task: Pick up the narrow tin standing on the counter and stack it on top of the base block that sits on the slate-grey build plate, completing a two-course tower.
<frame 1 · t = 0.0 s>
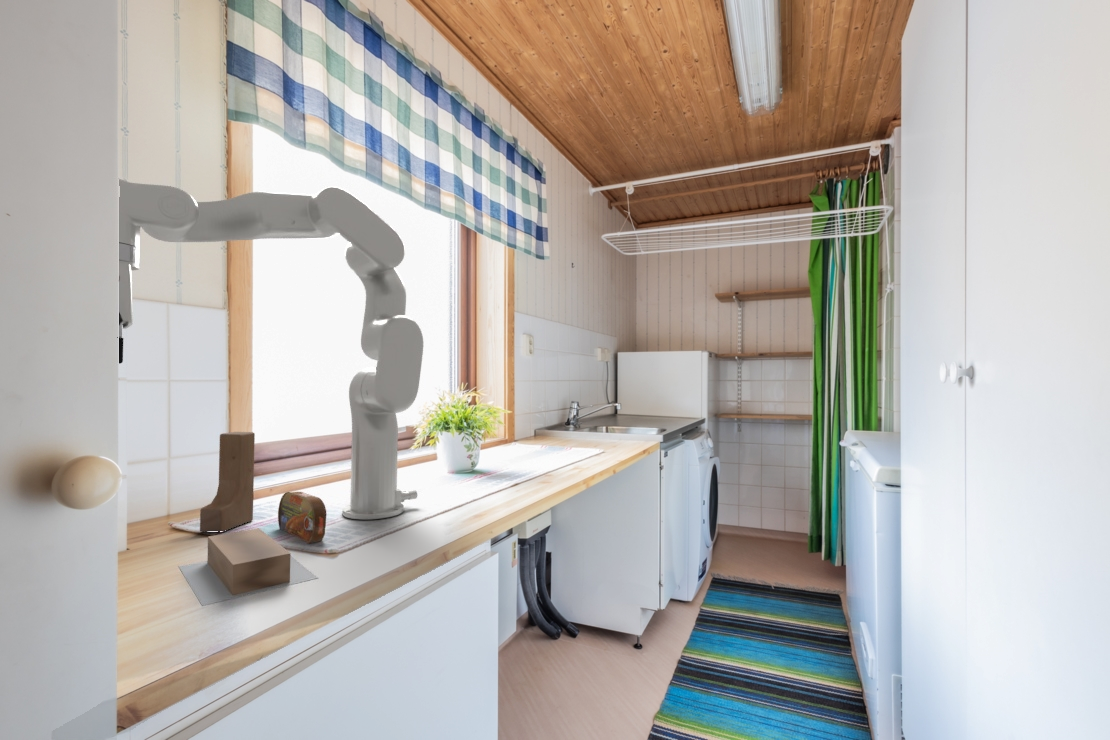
hand: (107, 363, 86), 31 cm above the table, tool pointing down, fingers open, 9 cm apart
tin: (301, 541, 96), on the table
wooden block: (227, 527, 104), on the table
build plate: (246, 578, 78), on the table
base block: (246, 572, 78), point 1 cm above the table, touching build plate
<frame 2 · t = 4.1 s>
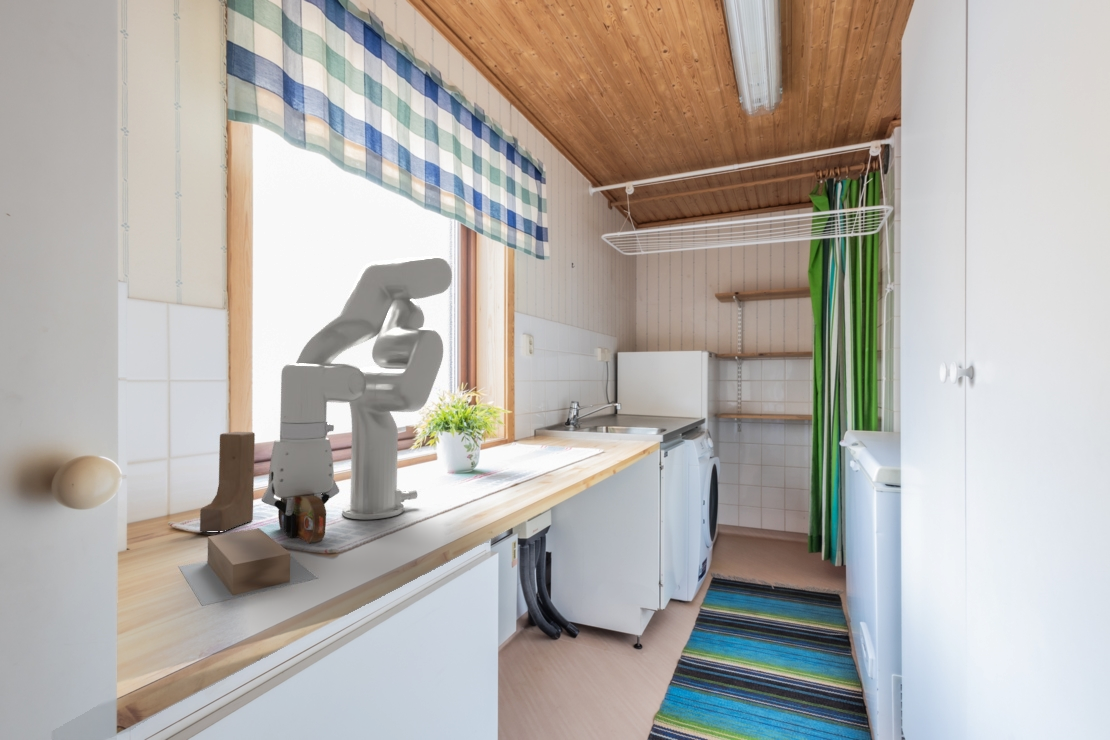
hand: (301, 533, 96), 1 cm above the table, tool pointing down, fingers closed on tin, 2 cm apart
tin: (302, 540, 96), on the table, touching gripper
everything else where it was.
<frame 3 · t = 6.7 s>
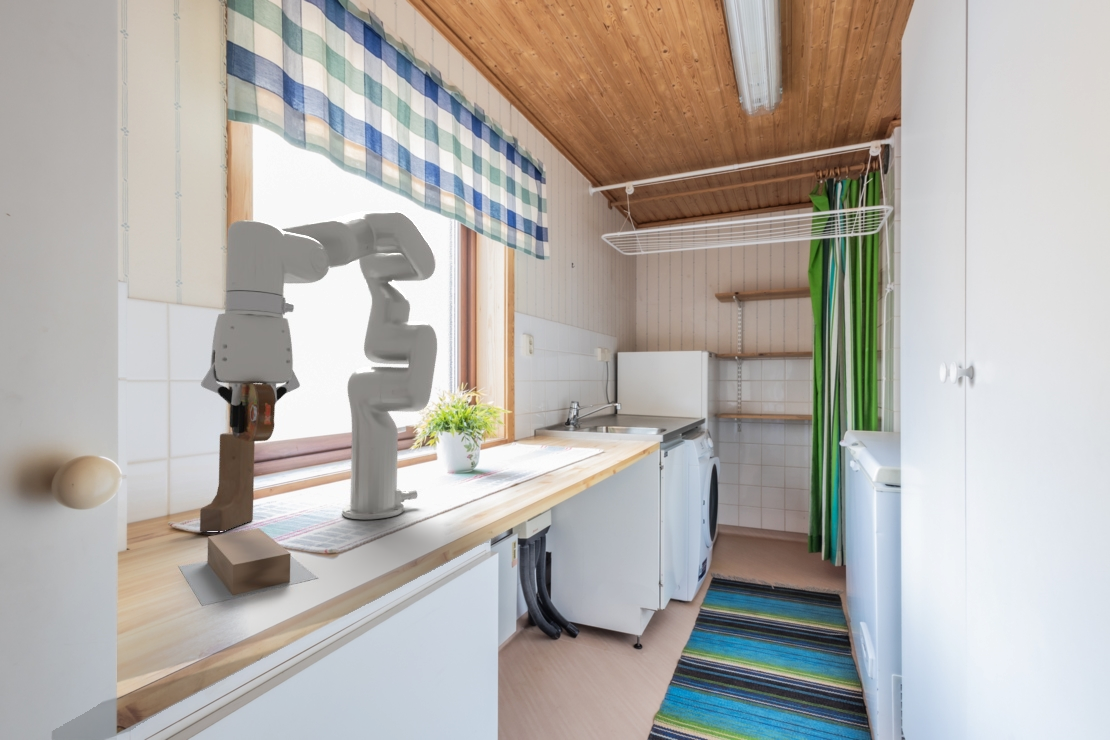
hand: (251, 430, 79), 22 cm above the table, tool pointing down, fingers closed on tin, 2 cm apart
tin: (253, 440, 79), point 20 cm above the table, touching gripper
everything else where it was.
when the fingers open (7 cm above the table, at t = 9.6 s): tin stays where it is, resting on base block.
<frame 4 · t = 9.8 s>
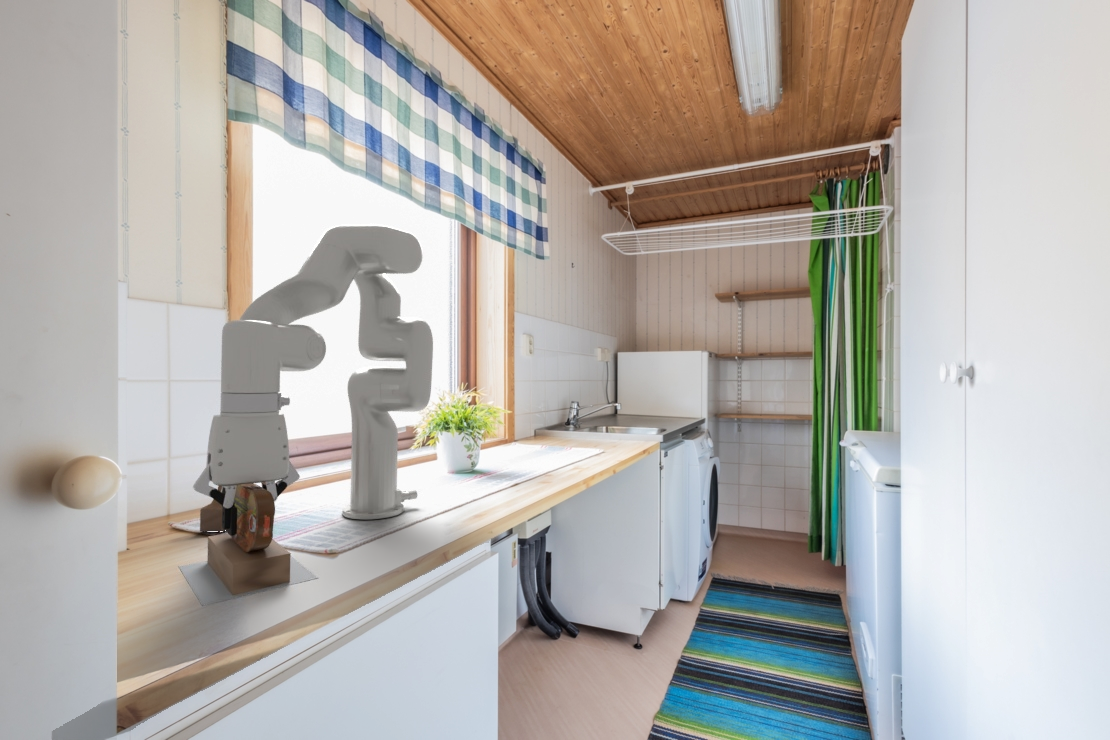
hand: (248, 529, 78), 7 cm above the table, tool pointing down, fingers open, 3 cm apart
tin: (250, 545, 78), point 5 cm above the table, touching base block, gripper
base block: (246, 572, 78), point 1 cm above the table, touching build plate, tin
everything else where it was.
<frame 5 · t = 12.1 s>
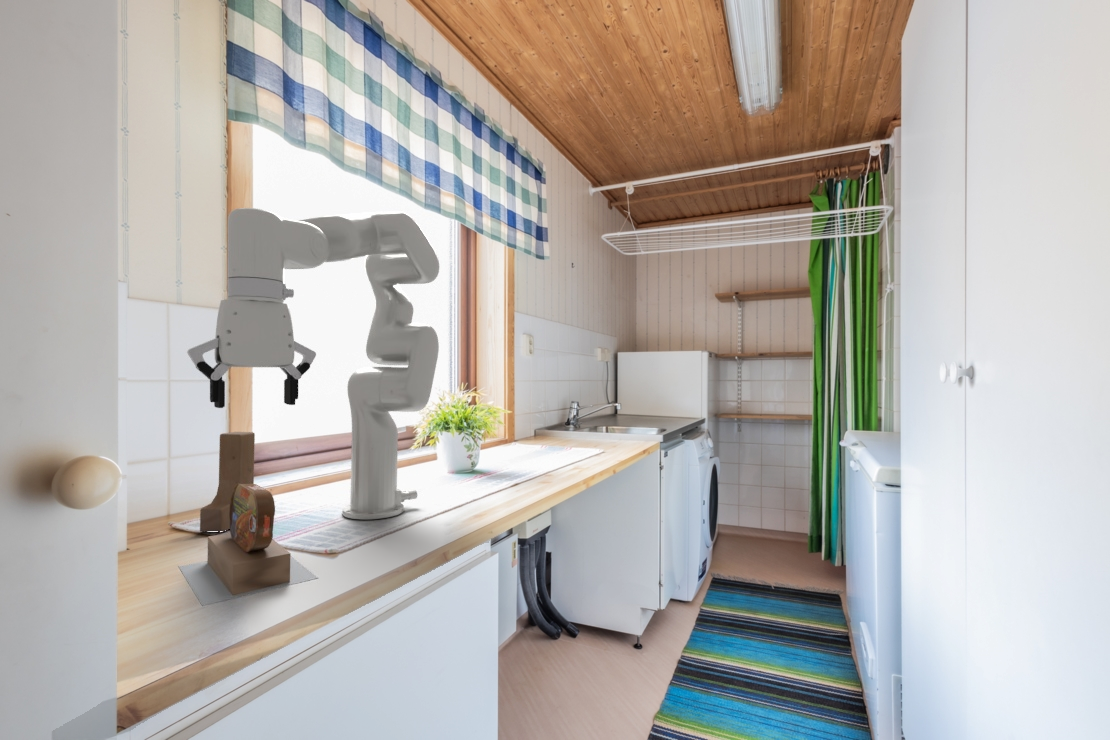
hand: (255, 405, 81), 25 cm above the table, tool pointing down, fingers open, 9 cm apart
tin: (250, 545, 78), point 5 cm above the table, touching base block
everything else where it was.
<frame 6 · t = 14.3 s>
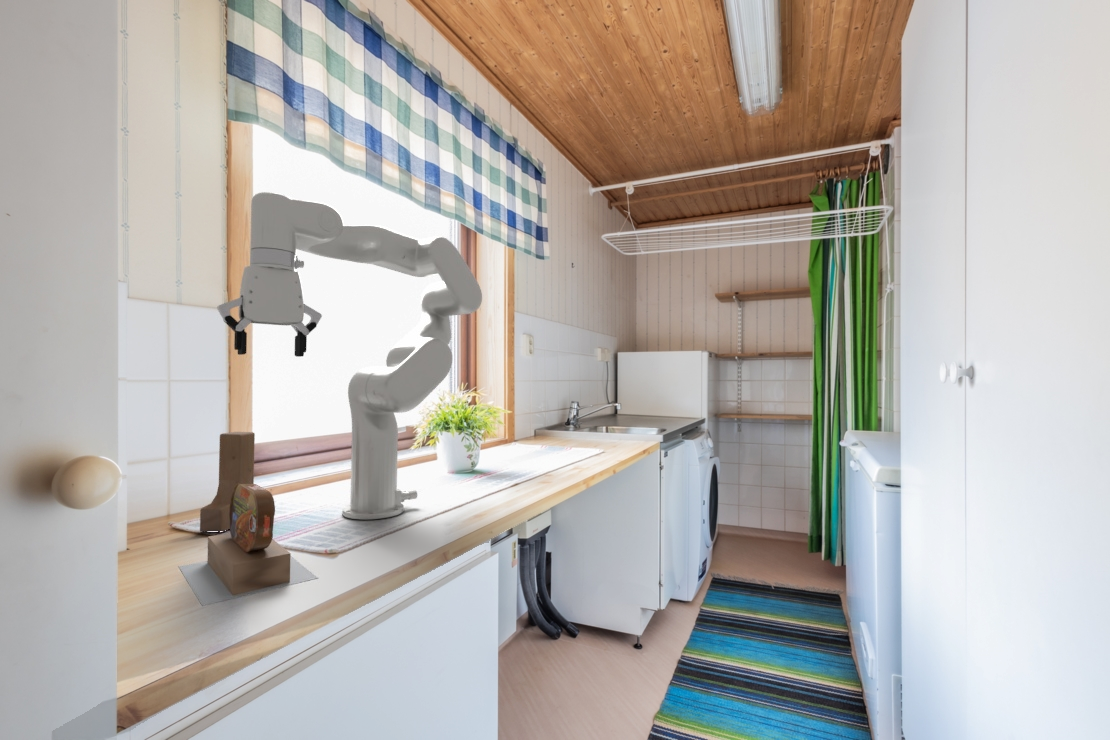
hand: (271, 355, 98), 33 cm above the table, tool pointing down, fingers open, 9 cm apart
nothing on the table moved.
at the end: tin inside the target area on the base block (0.4 cm from its centre), point 3.8 cm above the base block's base; tin tilted 0°; the gripper is holding nothing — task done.
